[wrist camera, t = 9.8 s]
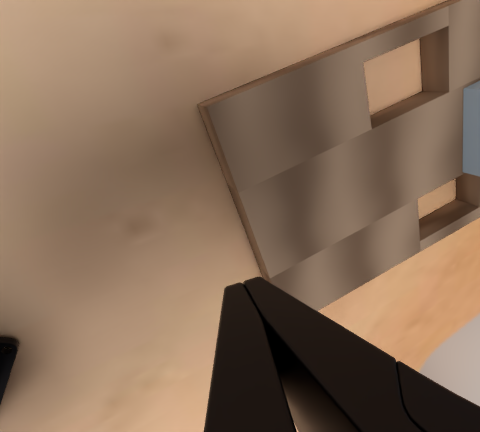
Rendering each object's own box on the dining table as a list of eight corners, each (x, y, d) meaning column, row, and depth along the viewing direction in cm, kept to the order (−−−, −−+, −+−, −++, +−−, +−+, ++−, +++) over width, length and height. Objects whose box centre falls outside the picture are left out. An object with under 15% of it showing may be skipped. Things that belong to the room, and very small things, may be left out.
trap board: (275, 310, 25) (329, 384, 19) (197, 104, 17) (244, 117, 11) (507, 180, 29) (613, 206, 23) (526, -32, 21) (690, -77, 15)
